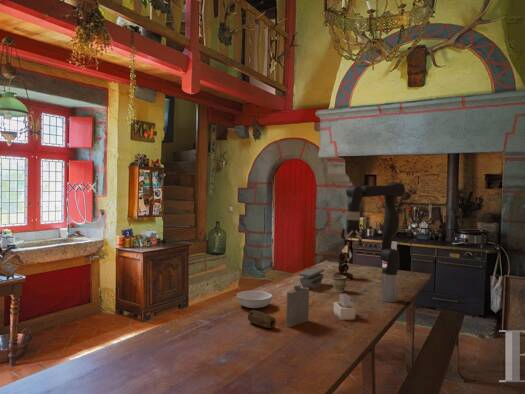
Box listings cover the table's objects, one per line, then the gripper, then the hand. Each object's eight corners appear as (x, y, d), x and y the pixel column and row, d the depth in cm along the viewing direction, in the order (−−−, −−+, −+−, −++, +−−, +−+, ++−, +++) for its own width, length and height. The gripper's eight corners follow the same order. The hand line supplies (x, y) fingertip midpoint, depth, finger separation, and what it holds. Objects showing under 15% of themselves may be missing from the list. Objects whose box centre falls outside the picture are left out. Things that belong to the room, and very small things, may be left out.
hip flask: (289, 327, 200) (290, 288, 199) (283, 325, 203) (284, 286, 202) (309, 320, 211) (310, 283, 211) (303, 318, 214) (304, 282, 213)
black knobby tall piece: (338, 275, 323) (339, 250, 322) (355, 277, 314) (356, 252, 314) (330, 278, 311) (331, 252, 311) (348, 281, 302) (349, 255, 302)
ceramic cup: (329, 292, 270) (330, 277, 270) (333, 288, 279) (333, 274, 279) (349, 294, 265) (349, 279, 265) (351, 291, 274) (352, 276, 274)
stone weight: (245, 324, 204) (245, 311, 204) (253, 320, 209) (254, 308, 209) (269, 331, 195) (269, 317, 195) (277, 327, 201) (277, 314, 200)
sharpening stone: (309, 291, 271) (309, 275, 271) (298, 289, 275) (299, 273, 275) (323, 283, 292) (324, 269, 292) (313, 282, 297) (314, 267, 296)
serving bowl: (279, 306, 235) (279, 295, 235) (254, 314, 220) (254, 302, 219) (254, 299, 249) (254, 288, 249) (229, 305, 234) (229, 294, 234)
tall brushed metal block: (345, 311, 224) (345, 293, 224) (349, 315, 217) (350, 297, 217) (339, 311, 224) (339, 293, 224) (343, 315, 217) (343, 297, 217)
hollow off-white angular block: (347, 312, 227) (348, 301, 227) (355, 319, 215) (355, 308, 215) (333, 312, 226) (333, 302, 226) (340, 319, 214) (340, 308, 214)
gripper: (362, 218, 245) (361, 244, 246) (340, 218, 243) (339, 244, 244) (367, 219, 238) (366, 246, 238) (344, 219, 236) (343, 246, 236)
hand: (352, 245), depth 241 cm, fingers open, 8 cm apart
